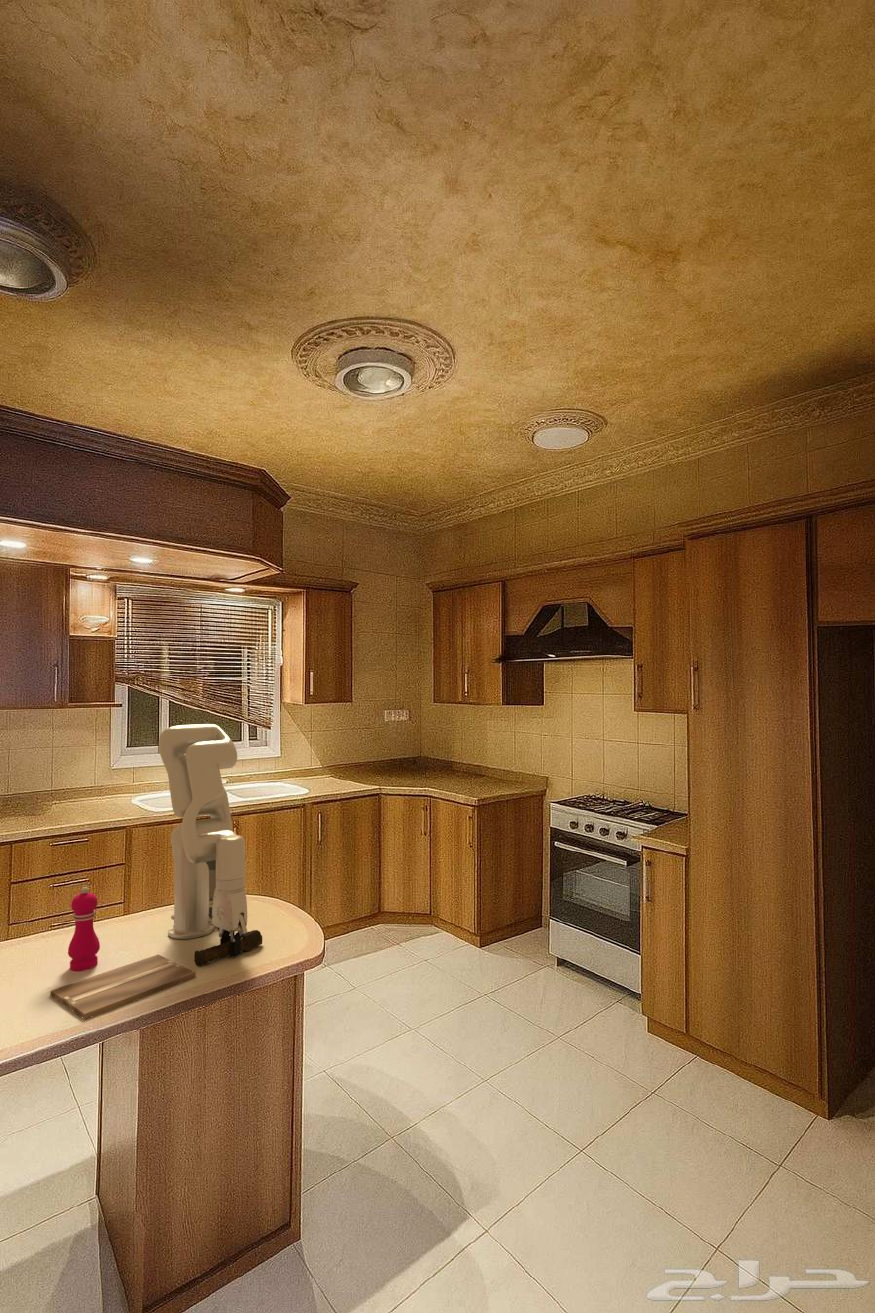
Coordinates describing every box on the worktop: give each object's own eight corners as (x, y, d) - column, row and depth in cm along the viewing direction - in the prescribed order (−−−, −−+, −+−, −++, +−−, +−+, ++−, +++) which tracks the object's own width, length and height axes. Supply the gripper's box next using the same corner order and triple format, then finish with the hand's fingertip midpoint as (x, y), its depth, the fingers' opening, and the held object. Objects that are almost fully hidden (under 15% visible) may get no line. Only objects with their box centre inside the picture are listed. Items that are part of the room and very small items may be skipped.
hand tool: (200, 969, 166) (200, 950, 167) (193, 964, 169) (193, 946, 169) (267, 948, 180) (267, 930, 180) (259, 944, 182) (259, 927, 183)
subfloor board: (50, 996, 153) (50, 990, 153) (158, 959, 173) (158, 954, 173) (84, 1019, 141) (84, 1013, 141) (195, 977, 162) (195, 972, 162)
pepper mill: (94, 958, 174) (95, 881, 175) (103, 966, 169) (104, 886, 170) (63, 966, 169) (65, 887, 170) (72, 975, 164) (73, 893, 165)
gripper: (200, 881, 178) (200, 951, 177) (236, 892, 167) (236, 966, 167) (225, 875, 184) (225, 942, 183) (261, 885, 173) (261, 957, 172)
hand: (230, 953), depth 175 cm, fingers closed on hand tool, 3 cm apart
